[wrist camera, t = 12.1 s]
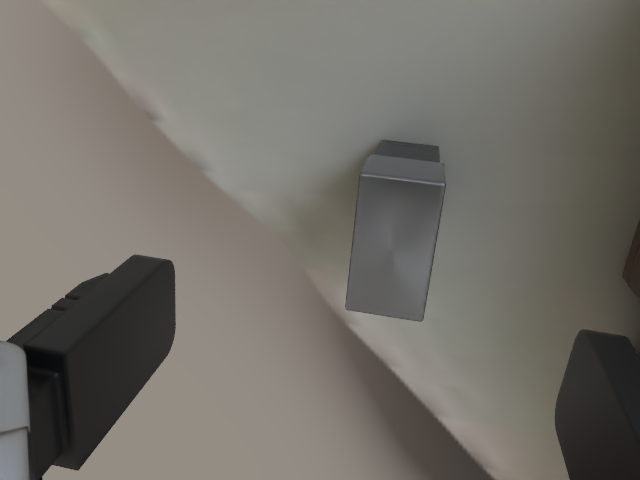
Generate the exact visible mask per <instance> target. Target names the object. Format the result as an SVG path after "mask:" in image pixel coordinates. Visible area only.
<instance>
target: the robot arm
mask: <svg viewBox="0 0 640 480" xmlns="http://www.w3.org/2000/svg"><path fill="white" fill-rule="evenodd" d="M175 325H176V323H175V270H174V265H173V263H172V262H171V261H170V260H166V259H160V258H154V257H148V256H142V255H133V256H131V257H130V258H129V259H127V260H126V261H125V262H124V263H123V264H122V265H120V266H119V267H118V268H116V269H115V270H114V271H113V272H112V273H110V274H108V273H105V274H102V275H100V276H97V277H95V278H92V279H90V280H87V281H85V282H82V283H81V284H79V285H78V286H77V287H76V288H74V289H73V290H72V291H70V292H69V293H68V294H67V295H65V298H61V299H60V300H59V301H57V302H56V303H55V304H54V305H52V308H51V309H47V310H46V311H44V312H43V313H42V314H41V315H39V316H38V317H37V318H35V319H34V320H33V321H32V322H30V323H29V324H28V325H26V326H25V327H24V328H22V329H21V330H20V331H19V332H17V333H16V334H15V335H13V336H12V337H11V338H10V339H8V340H7V341H6V342H4V341H0V480H42V476H43V475H44V473H45V472H46V471H47V470H48V469H49V467H50V466H51V465H56V466H60V467H64V468H69V469H74V470H79V469H80V467H81V466H82V465H83V464H84V462H85V461H86V460H87V458H88V457H89V456H90V455H91V453H92V452H93V451H94V449H95V448H96V447H97V446H98V444H99V443H100V442H101V440H102V439H103V438H104V436H105V435H106V434H107V433H108V431H109V430H110V429H111V427H112V426H113V425H114V424H115V422H116V421H117V420H118V419H119V417H120V416H121V415H122V413H123V412H124V411H125V410H126V408H127V407H128V406H129V404H130V403H131V402H132V400H133V399H134V398H135V397H136V395H137V394H138V393H139V391H140V390H141V389H142V388H143V386H144V385H145V383H146V382H147V381H148V380H149V379H150V377H151V376H152V375H153V373H154V372H155V371H156V369H157V368H158V367H159V366H160V364H161V363H162V362H163V360H164V359H165V358H166V356H167V355H168V353H169V351H170V349H171V346H172V344H173V340H174V335H175ZM555 427H556V432H557V436H558V439H559V443H560V446H561V450H562V453H563V457H564V460H565V464H566V467H567V471H568V474H569V478H570V480H640V358H639V356H638V354H637V353H636V351H635V349H634V348H633V346H632V344H631V343H630V341H629V339H628V338H627V337H625V336H620V335H614V334H608V333H602V332H596V331H590V330H581V331H580V332H579V333H578V335H577V337H576V339H575V342H574V345H573V348H572V352H571V355H570V358H569V361H568V365H567V368H566V371H565V374H564V378H563V381H562V384H561V387H560V391H559V394H558V397H557V402H556V408H555Z"/></svg>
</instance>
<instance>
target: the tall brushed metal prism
mask: <svg viewBox="0 0 640 480" xmlns="http://www.w3.org/2000/svg"><path fill="white" fill-rule="evenodd" d="M445 187H446V182H445V169H444V164H443V163H440V158H439V147H438V146H430V145H422V144H413V143H404V142H396V141H387V140H382V141H381V143H380V146H379V148H378V150H377V153H376V155H373V154H371V155H369V156H368V158H367V160H366V162H365V165H364V167H363V169H362V171H361V173H360V176H359V185H358V195H357V204H356V213H355V222H354V231H353V241H352V250H351V259H350V268H349V277H348V287H347V296H346V305H345V307H346V309H347V310H351V311H357V312H363V313H369V314H376V315H382V316H388V317H395V318H401V319H407V320H413V321H420V322H421V321H422V320H423V318H424V312H425V306H426V301H427V295H428V289H429V283H430V277H431V271H432V265H433V259H434V253H435V247H436V241H437V235H438V229H439V223H440V217H441V211H442V205H443V199H444V193H445Z"/></svg>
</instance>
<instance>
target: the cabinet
mask: <svg viewBox="0 0 640 480" xmlns="http://www.w3.org/2000/svg"><path fill="white" fill-rule="evenodd" d="M623 278H624V279H625V281H626V282H627V283H628V285H629V287H630V288H631V289H632V291H633V292H634V293H635V295H636V296H637V297H638V299H639V300H640V221H639V224H638V228H637V231H636V234H635V237H634V241H633V244H632V247H631V250H630V254H629V257H628V260H627V263H626V266H625V270H624V273H623Z"/></svg>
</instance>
